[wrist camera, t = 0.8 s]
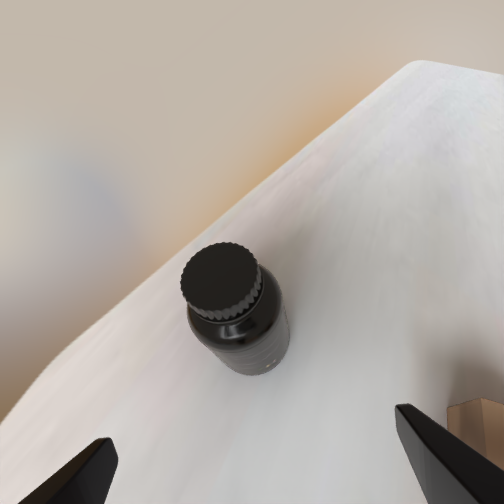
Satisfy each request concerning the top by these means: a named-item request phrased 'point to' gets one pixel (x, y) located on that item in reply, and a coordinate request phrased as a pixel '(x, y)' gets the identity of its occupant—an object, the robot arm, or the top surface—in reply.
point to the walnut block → (480, 427)
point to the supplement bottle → (236, 308)
